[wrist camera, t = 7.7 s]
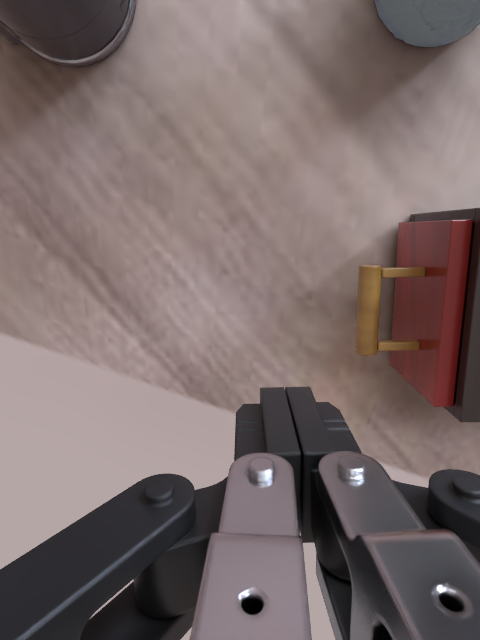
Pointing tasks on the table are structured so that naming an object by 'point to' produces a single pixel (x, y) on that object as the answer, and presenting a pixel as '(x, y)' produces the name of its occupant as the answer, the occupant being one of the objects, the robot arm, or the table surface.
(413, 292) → the drawer
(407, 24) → the drinking glass
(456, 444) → the table surface
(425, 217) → the cabinet
